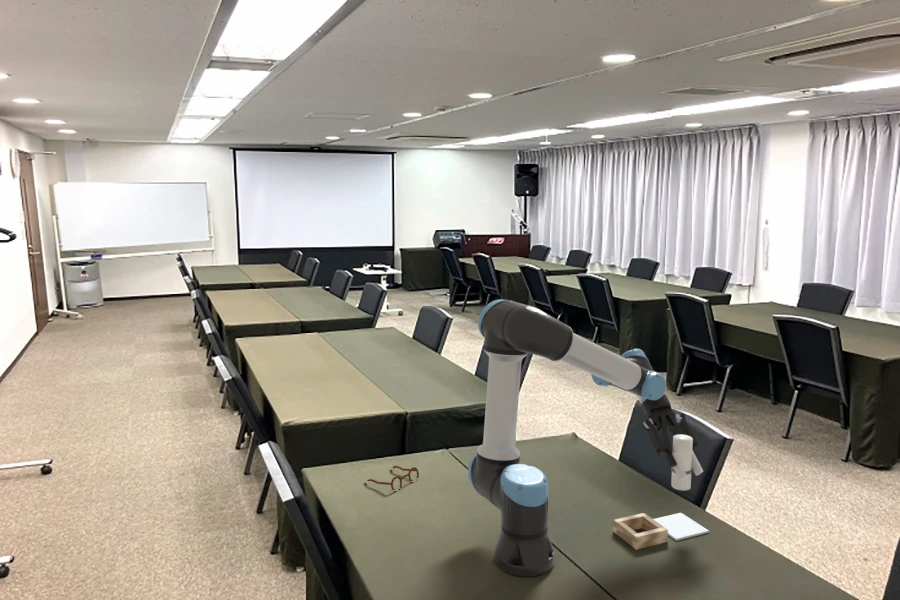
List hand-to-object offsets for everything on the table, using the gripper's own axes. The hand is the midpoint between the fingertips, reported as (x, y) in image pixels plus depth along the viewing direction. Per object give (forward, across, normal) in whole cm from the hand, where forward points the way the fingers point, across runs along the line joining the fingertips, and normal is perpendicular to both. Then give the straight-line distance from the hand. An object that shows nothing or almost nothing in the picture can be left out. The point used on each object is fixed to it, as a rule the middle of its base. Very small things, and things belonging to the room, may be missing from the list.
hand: (691, 475), depth 173 cm
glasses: (-33, +66, -57) cm, 93 cm away
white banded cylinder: (+1, 0, -6) cm, 6 cm away
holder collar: (+9, +13, -14) cm, 22 cm away
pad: (+9, 0, -14) cm, 17 cm away
